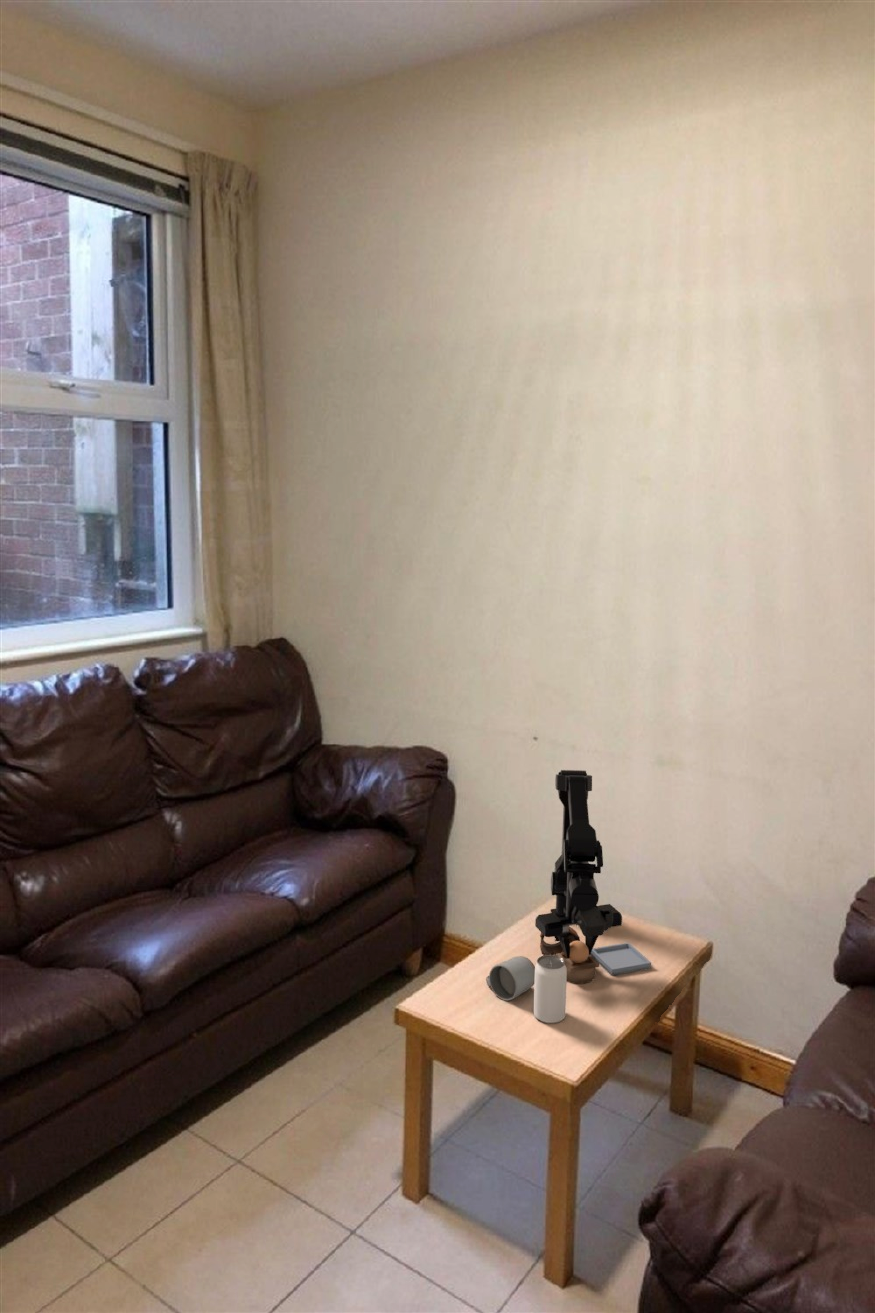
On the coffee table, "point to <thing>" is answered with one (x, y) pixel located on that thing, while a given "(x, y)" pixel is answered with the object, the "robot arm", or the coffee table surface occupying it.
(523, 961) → the ceramic mug
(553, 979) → the can
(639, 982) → the coffee table surface
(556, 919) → the robot arm
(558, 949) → the pottery mug
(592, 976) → the open wooden box
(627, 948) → the tray
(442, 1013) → the coffee table surface
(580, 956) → the ball
